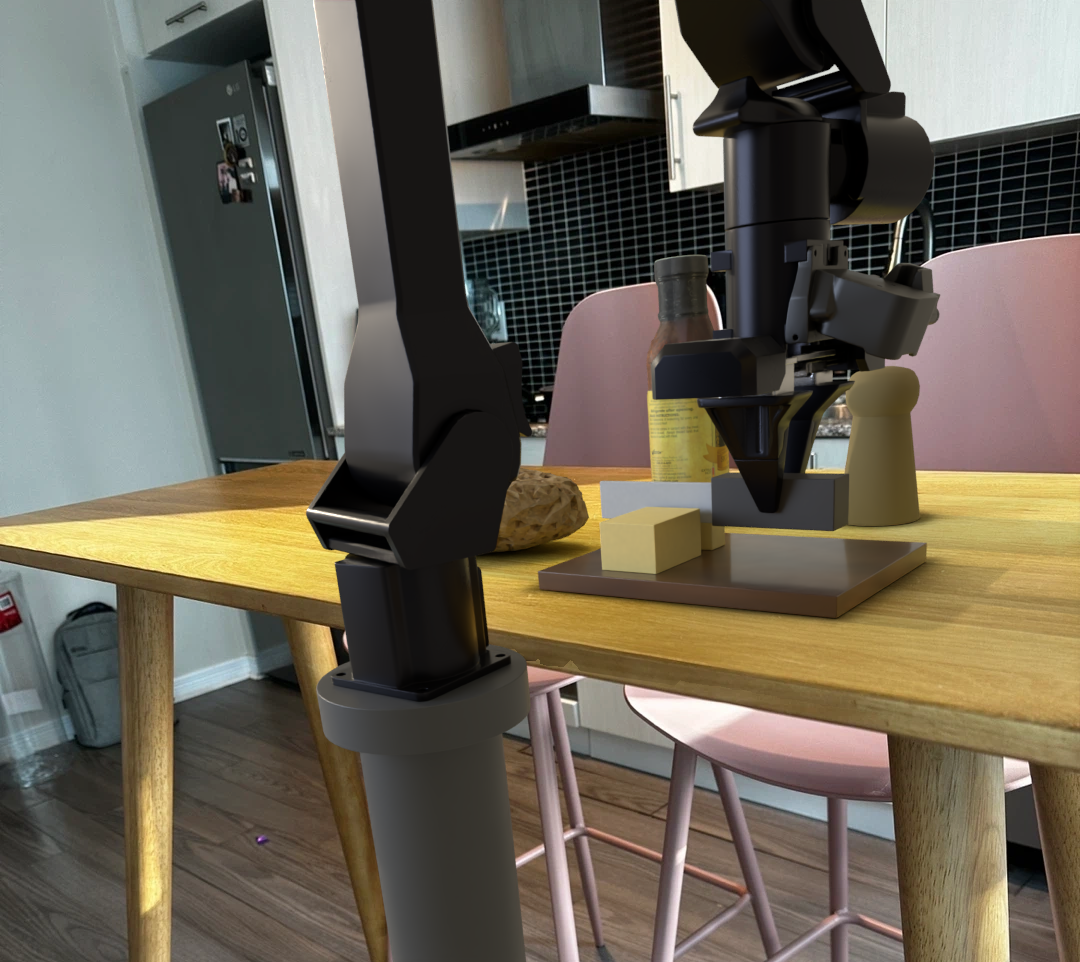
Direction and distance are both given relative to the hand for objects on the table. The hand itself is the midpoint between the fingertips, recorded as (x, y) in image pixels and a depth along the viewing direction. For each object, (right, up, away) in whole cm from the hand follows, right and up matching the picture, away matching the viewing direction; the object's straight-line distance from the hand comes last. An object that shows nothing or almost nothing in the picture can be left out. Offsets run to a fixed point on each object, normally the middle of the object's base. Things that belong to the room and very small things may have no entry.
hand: (777, 508), depth 62 cm
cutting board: (-2, -4, +3) cm, 5 cm away
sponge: (-20, 0, +19) cm, 27 cm away
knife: (-3, 0, +3) cm, 5 cm away
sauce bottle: (-2, +3, +22) cm, 22 cm away
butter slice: (-4, -1, +6) cm, 8 cm away
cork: (+11, +2, +16) cm, 20 cm away
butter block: (-7, -3, +3) cm, 8 cm away
